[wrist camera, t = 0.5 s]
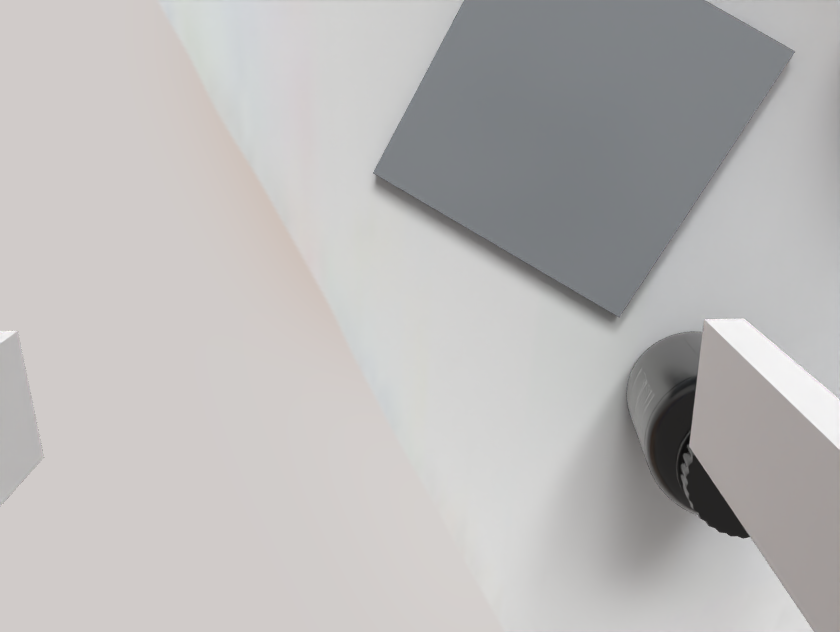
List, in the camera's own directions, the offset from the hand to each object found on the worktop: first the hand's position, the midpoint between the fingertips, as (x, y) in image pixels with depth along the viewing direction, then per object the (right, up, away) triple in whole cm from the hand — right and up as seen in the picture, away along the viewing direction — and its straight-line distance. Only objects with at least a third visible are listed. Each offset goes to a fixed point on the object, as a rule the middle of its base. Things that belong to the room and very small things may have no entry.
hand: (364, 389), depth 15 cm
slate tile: (+9, +12, +24) cm, 28 cm away
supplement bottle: (+16, -3, +26) cm, 31 cm away
